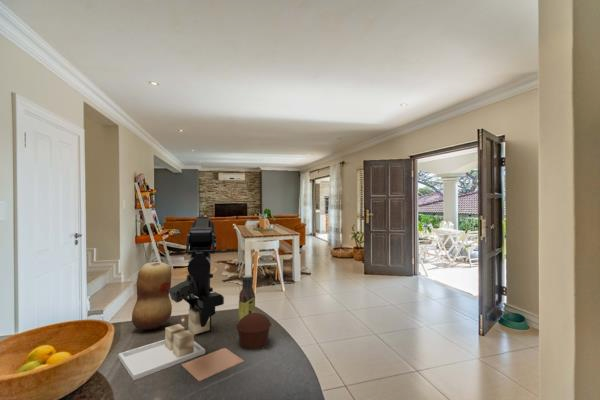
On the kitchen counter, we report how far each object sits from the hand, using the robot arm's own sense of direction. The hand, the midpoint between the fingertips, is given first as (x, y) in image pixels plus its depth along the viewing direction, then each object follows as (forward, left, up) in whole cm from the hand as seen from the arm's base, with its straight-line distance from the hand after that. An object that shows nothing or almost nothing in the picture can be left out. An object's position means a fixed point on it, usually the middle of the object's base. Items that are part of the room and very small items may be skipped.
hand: (199, 324), depth 83 cm
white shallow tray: (+6, -12, -12) cm, 18 cm away
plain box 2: (+1, -8, -11) cm, 14 cm away
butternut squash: (+1, -37, -12) cm, 39 cm away
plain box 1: (+1, -15, -11) cm, 19 cm away
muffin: (-19, +1, -12) cm, 23 cm away
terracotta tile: (-3, +3, -12) cm, 13 cm away
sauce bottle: (-25, -12, -12) cm, 30 cm away
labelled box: (0, 0, -2) cm, 2 cm away
